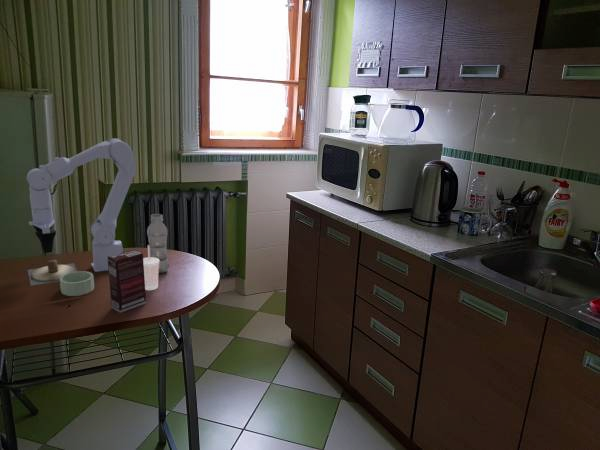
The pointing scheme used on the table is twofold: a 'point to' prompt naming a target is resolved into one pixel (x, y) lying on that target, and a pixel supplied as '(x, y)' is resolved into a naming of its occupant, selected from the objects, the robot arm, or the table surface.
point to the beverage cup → (151, 271)
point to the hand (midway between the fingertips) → (46, 248)
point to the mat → (37, 282)
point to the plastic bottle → (158, 241)
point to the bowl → (76, 283)
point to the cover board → (51, 276)
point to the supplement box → (126, 280)
